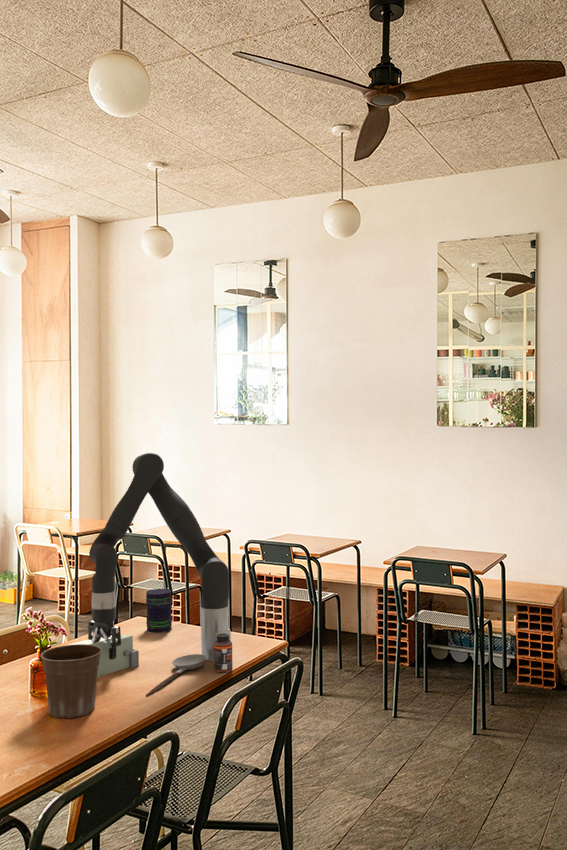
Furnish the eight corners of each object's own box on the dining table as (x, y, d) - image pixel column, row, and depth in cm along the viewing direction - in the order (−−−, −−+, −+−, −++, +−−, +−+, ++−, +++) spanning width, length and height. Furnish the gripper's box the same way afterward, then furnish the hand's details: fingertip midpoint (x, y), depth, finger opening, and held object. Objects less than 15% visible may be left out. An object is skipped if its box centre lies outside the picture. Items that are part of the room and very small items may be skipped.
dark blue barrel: (170, 632, 280) (169, 593, 280) (144, 633, 280) (143, 594, 280) (173, 626, 290) (173, 588, 290) (148, 626, 290) (148, 589, 290)
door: (135, 667, 239) (134, 636, 239) (82, 683, 223) (82, 650, 224) (127, 664, 241) (127, 634, 242) (74, 680, 226) (74, 648, 226)
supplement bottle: (229, 673, 230) (229, 637, 230) (211, 672, 231) (210, 636, 231) (234, 667, 235) (234, 632, 236) (217, 667, 237) (216, 631, 237)
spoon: (212, 663, 240) (211, 654, 240) (163, 702, 208) (162, 692, 208) (182, 663, 243) (181, 654, 243) (130, 701, 212) (129, 691, 212)
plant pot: (80, 696, 212) (79, 640, 212) (114, 708, 202) (114, 649, 202) (29, 713, 199) (28, 653, 200) (63, 727, 189) (63, 664, 189)
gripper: (80, 604, 235) (81, 655, 235) (107, 610, 226) (108, 663, 225) (100, 600, 241) (101, 650, 240) (127, 606, 231) (128, 657, 231)
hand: (104, 656), depth 233 cm, fingers open, 8 cm apart
